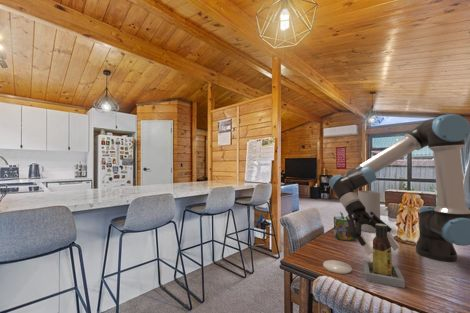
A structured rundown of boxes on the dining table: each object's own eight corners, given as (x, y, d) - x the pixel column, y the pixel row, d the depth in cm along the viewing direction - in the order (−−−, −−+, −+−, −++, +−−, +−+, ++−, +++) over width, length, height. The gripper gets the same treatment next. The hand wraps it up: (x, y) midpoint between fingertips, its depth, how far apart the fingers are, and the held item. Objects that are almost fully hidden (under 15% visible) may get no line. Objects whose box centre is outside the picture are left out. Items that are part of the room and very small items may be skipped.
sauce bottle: (392, 282, 85) (391, 228, 86) (372, 277, 88) (371, 225, 89) (391, 274, 91) (390, 224, 91) (372, 270, 94) (372, 221, 94)
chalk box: (354, 241, 129) (354, 214, 130) (337, 240, 131) (336, 213, 131) (349, 235, 138) (349, 211, 139) (333, 234, 140) (333, 210, 140)
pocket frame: (397, 272, 93) (397, 265, 93) (404, 287, 81) (404, 280, 81) (363, 266, 98) (363, 260, 98) (365, 280, 86) (365, 273, 86)
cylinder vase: (354, 228, 154) (353, 191, 154) (366, 226, 159) (366, 190, 160) (372, 233, 142) (371, 193, 143) (384, 231, 148) (384, 192, 148)
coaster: (351, 265, 99) (351, 263, 99) (352, 276, 89) (352, 274, 89) (324, 260, 104) (324, 258, 104) (322, 270, 94) (322, 268, 94)
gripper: (368, 208, 109) (400, 251, 95) (325, 211, 101) (353, 259, 87) (378, 198, 104) (414, 242, 90) (334, 201, 96) (365, 250, 82)
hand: (384, 251), depth 88 cm, fingers open, 13 cm apart
